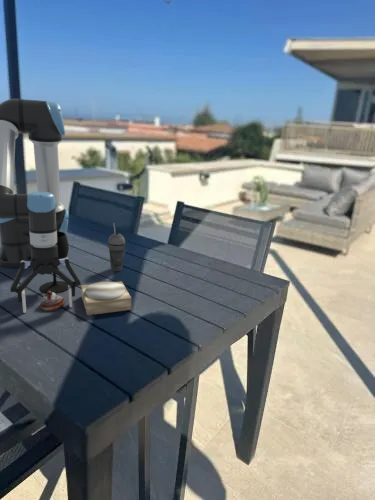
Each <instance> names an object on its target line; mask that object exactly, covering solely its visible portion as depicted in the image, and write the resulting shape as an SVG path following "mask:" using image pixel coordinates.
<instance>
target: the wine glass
mask: <svg viewBox="0 0 375 500" xmlns="http://www.w3.org/2000/svg"><path fill="white" fill-rule="evenodd" d="M56 244H57V246H58V258H59V259H64V258H65V257H68V255H69V251H70V250H69V249H70V246H69V240H68V237H67V233H66V234H65V233H63V232H59V231H57V243H56ZM61 264H62V263H60V264H59V266H60V265H61ZM52 276H53V277H52V279H53V280H52V281H48V282H45V283H43V284H41V285H40V286H39V290H40V291H41V292H42V293H45V294H46V293H48V292H49V291H51V292H53V293H55V294H61V293H64V292H66V291H68V286H69V285H68V284H67V283H66V282H65V281H64V280H57V275H56V274H55V273H54V272H53V273H52Z"/></svg>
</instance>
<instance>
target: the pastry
mask: <svg viewBox="0 0 375 500" xmlns="http://www.w3.org/2000/svg"><path fill="white" fill-rule="evenodd" d="M41 300H42V301H41V302H40V307H39V308H40V309H41V310H42V311H45V310H46V312H55V311H57V310H60V309H61V307H62V308H63V307H64V306H65V302H66V300H65V298H64V297H63V296H61V295H57V293H53V292H51V291H49V292H48V293H45V294H44V295H43V297H42V298H41ZM54 310H55V311H54Z"/></svg>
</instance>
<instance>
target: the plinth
mask: <svg viewBox="0 0 375 500" xmlns="http://www.w3.org/2000/svg"><path fill="white" fill-rule="evenodd" d="M80 286H81V287H80V288H81V299H82V302H83V306H84V309H86V310H85V313H86V315H87V316H93V315H92V314H94V315H102V314H108V313H115V312H116V313H117V312H123V311H131V310H132V296H131V295H130V293H129V291H128V290H127V288H126V286H125V284H124V283H123V281H99V282H94V283H92V284H83V285H82V284H81V285H80Z"/></svg>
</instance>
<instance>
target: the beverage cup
mask: <svg viewBox="0 0 375 500" xmlns="http://www.w3.org/2000/svg"><path fill="white" fill-rule="evenodd" d="M112 223H113V230H114V231H113V232H114V233H113V234H111V235H110V236H109V237H108V239H107V245H108V246H107V247H108V251H109V263H110V270H111V271H113V272H119V271H122V270H123V264H124V256H125V255H124V253H125V247H126V240H125V237H124V236H123V234H121V233H118V232H116V226H115V224H116V223H115V222H112Z"/></svg>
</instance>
